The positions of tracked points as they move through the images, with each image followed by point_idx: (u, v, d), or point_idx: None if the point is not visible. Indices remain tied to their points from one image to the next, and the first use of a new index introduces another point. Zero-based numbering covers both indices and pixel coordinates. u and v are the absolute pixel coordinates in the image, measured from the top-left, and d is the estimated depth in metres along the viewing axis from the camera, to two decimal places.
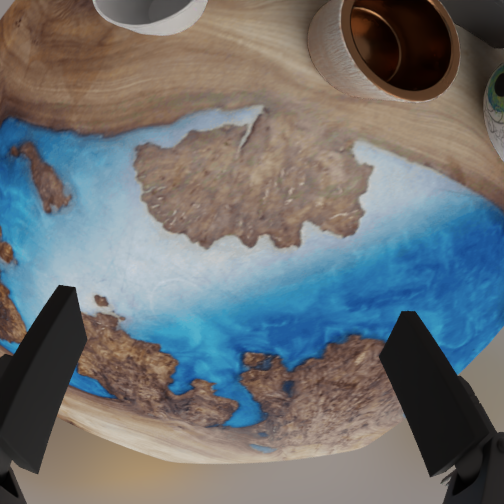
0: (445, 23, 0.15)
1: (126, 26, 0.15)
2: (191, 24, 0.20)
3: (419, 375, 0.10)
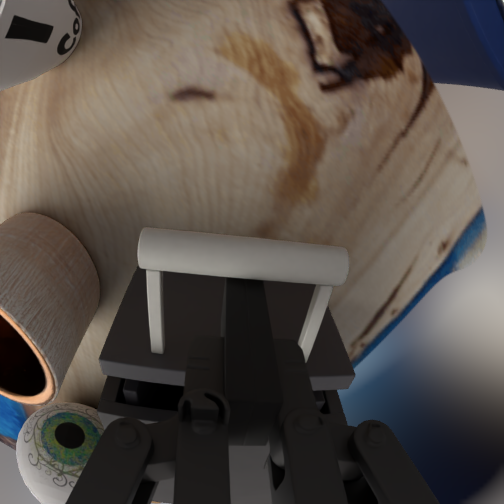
0: (37, 395, 0.15)
1: None
2: None
3: None
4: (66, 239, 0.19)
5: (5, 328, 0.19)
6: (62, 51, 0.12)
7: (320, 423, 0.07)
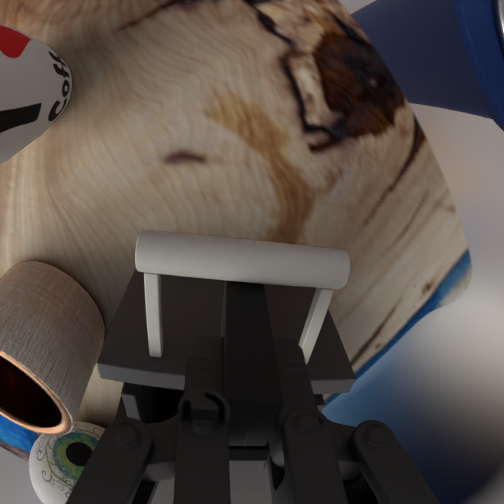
0: (53, 428, 0.17)
1: None
2: None
3: None
4: (72, 289, 0.20)
5: None
6: (54, 117, 0.14)
7: (320, 423, 0.07)
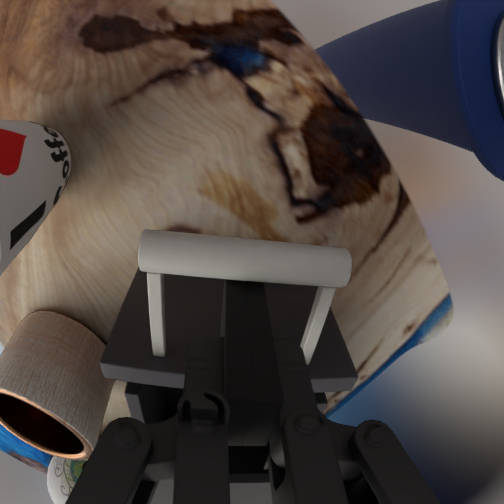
0: (75, 454, 0.19)
1: None
2: None
3: None
4: (86, 338, 0.23)
5: None
6: None
7: (320, 423, 0.07)
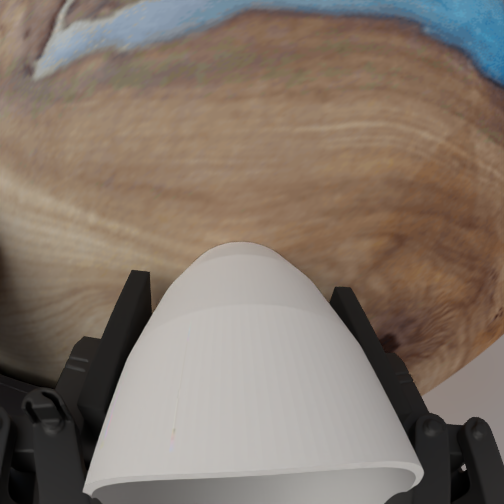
0: None
1: (350, 460, 0.04)
2: (173, 289, 0.10)
3: None
4: None
5: None
6: None
7: (442, 429, 0.07)
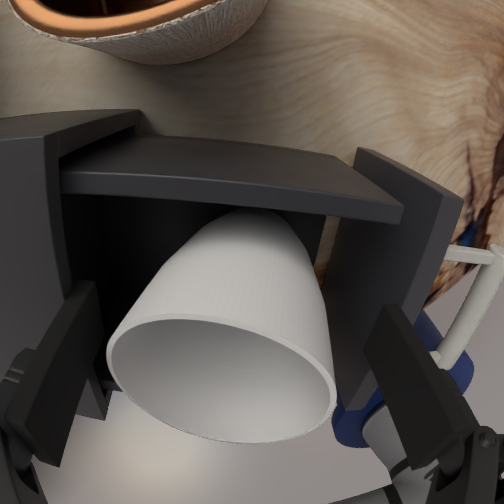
0: None
1: (256, 326, 0.08)
2: (196, 233, 0.14)
3: (400, 367, 0.10)
4: (237, 36, 0.13)
5: None
6: None
7: (494, 441, 0.06)
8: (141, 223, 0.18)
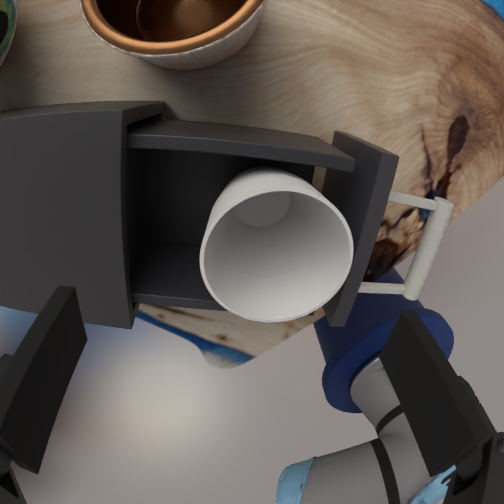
0: (101, 16, 0.11)
1: (312, 193, 0.15)
2: (235, 177, 0.20)
3: (419, 375, 0.10)
4: (236, 50, 0.20)
5: None
6: None
7: None
8: (174, 185, 0.24)
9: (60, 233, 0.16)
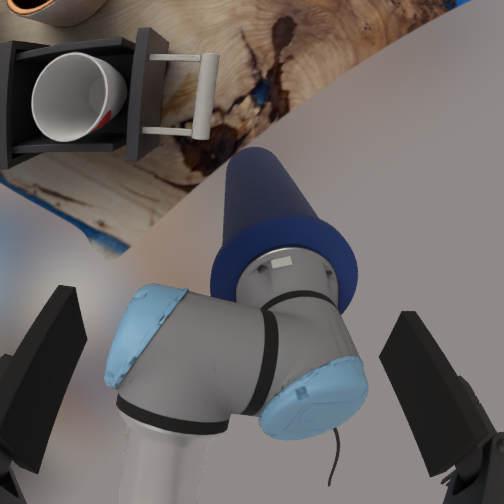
0: (12, 1, 0.16)
1: (80, 53, 0.19)
2: (77, 74, 0.25)
3: (419, 375, 0.10)
4: (95, 7, 0.24)
5: None
6: (82, 119, 0.28)
7: None
8: None
9: None
